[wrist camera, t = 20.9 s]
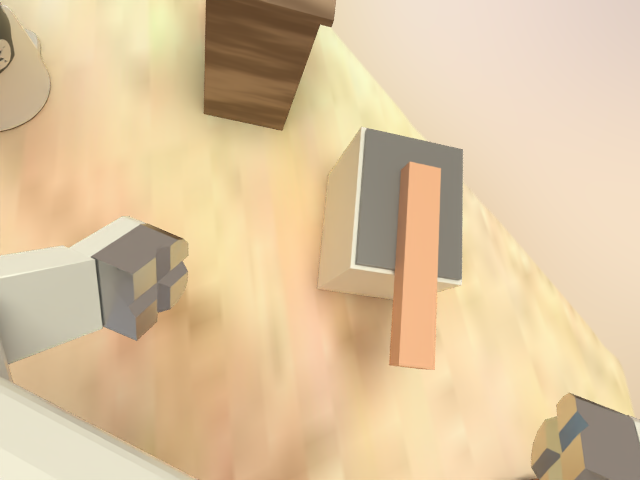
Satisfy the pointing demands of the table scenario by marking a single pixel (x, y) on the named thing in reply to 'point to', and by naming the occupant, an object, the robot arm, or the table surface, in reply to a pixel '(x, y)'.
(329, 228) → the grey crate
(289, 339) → the table surface
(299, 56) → the walnut stand
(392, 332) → the terracotta block
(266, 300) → the table surface
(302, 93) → the table surface
